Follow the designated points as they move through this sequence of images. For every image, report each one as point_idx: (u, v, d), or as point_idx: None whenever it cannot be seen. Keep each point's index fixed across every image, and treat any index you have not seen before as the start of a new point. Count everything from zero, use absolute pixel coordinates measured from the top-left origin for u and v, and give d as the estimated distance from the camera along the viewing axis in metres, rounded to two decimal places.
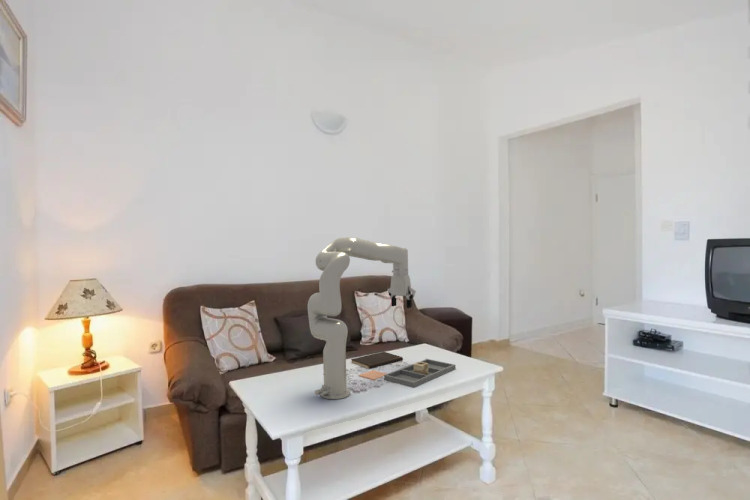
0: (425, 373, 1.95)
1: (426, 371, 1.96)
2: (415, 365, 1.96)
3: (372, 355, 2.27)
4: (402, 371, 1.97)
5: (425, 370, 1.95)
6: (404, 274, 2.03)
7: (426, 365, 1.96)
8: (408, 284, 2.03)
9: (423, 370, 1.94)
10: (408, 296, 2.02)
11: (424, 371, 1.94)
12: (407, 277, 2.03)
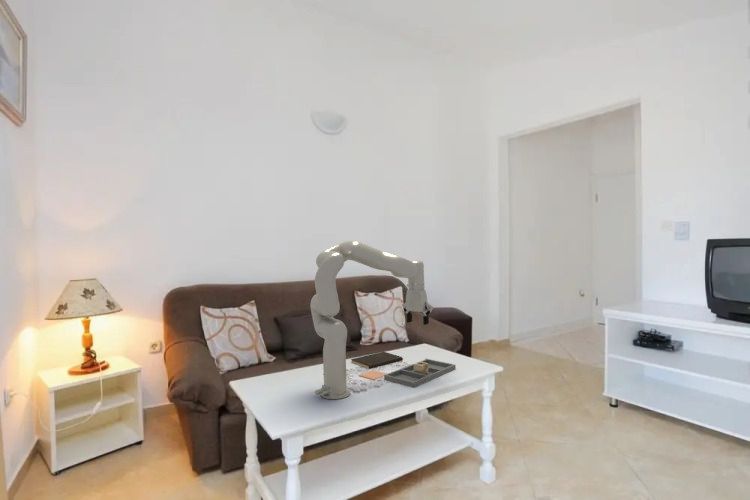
0: (425, 373, 1.95)
1: (426, 371, 1.96)
2: (415, 365, 1.96)
3: (372, 355, 2.27)
4: (402, 371, 1.97)
5: (425, 370, 1.95)
6: (420, 289, 1.91)
7: (426, 365, 1.96)
8: (425, 299, 1.91)
9: (423, 370, 1.94)
10: (425, 312, 1.90)
11: (424, 371, 1.94)
12: (423, 292, 1.91)
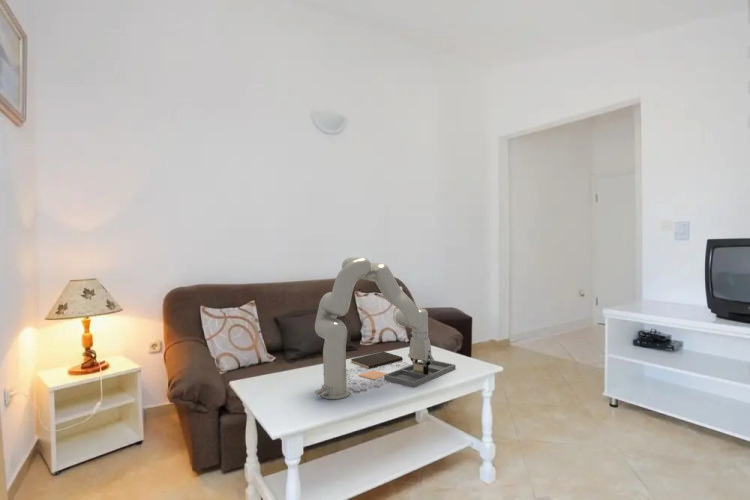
0: None
1: None
2: (415, 365, 1.96)
3: (372, 355, 2.27)
4: (402, 371, 1.97)
5: None
6: (424, 338, 1.93)
7: None
8: (428, 348, 1.93)
9: None
10: (426, 363, 1.93)
11: None
12: (427, 341, 1.93)
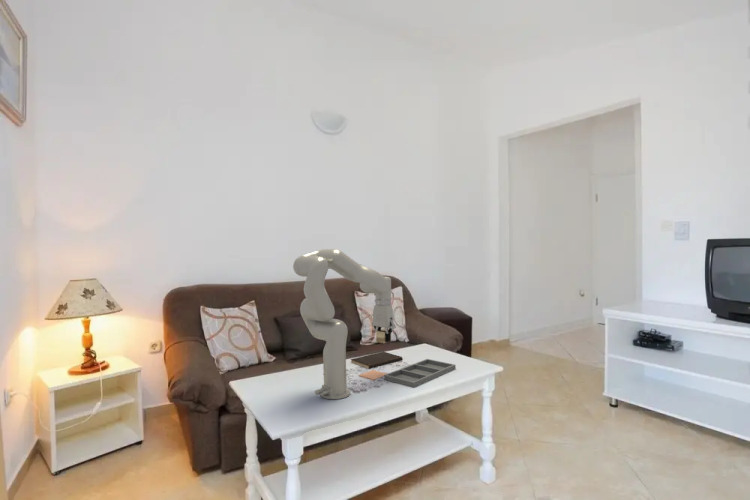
0: None
1: None
2: (378, 332, 1.96)
3: (372, 355, 2.27)
4: (402, 371, 1.97)
5: None
6: (386, 305, 1.93)
7: None
8: (390, 315, 1.93)
9: None
10: (387, 330, 1.93)
11: None
12: (389, 308, 1.93)
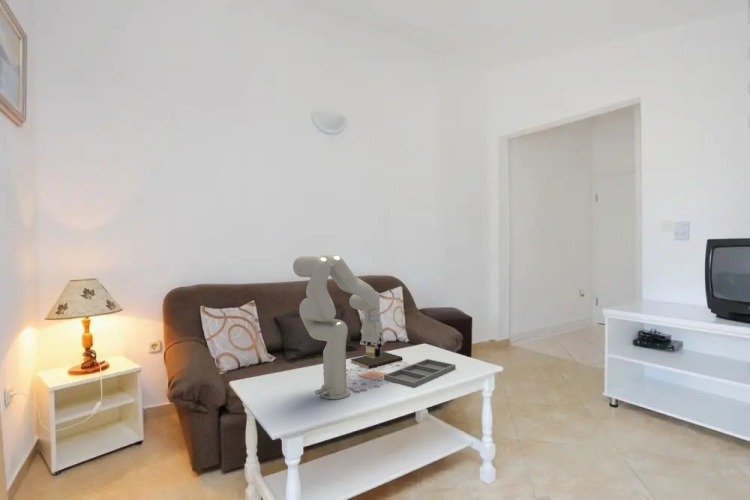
0: None
1: None
2: (367, 347, 1.96)
3: None
4: (402, 371, 1.97)
5: None
6: (375, 320, 1.94)
7: None
8: (380, 330, 1.93)
9: None
10: (377, 345, 1.94)
11: None
12: (379, 323, 1.94)
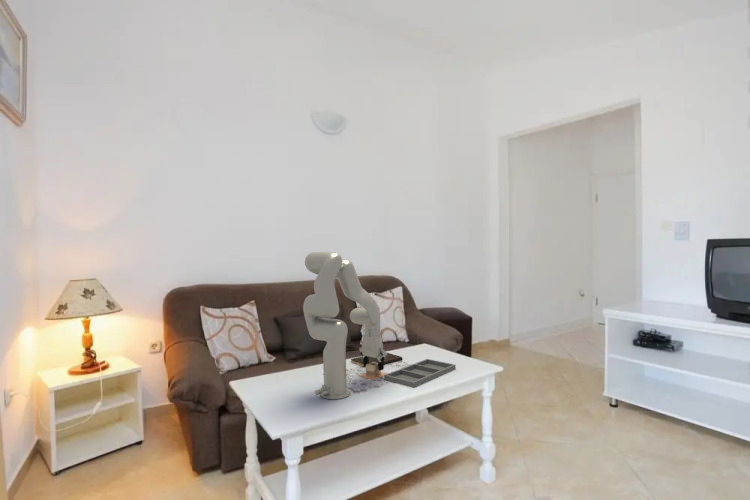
0: (377, 373, 1.95)
1: (378, 371, 1.96)
2: (367, 365, 1.96)
3: None
4: (402, 371, 1.97)
5: (377, 370, 1.96)
6: (376, 335, 1.94)
7: None
8: (380, 345, 1.93)
9: (375, 370, 1.94)
10: None
11: (376, 372, 1.95)
12: (379, 338, 1.94)
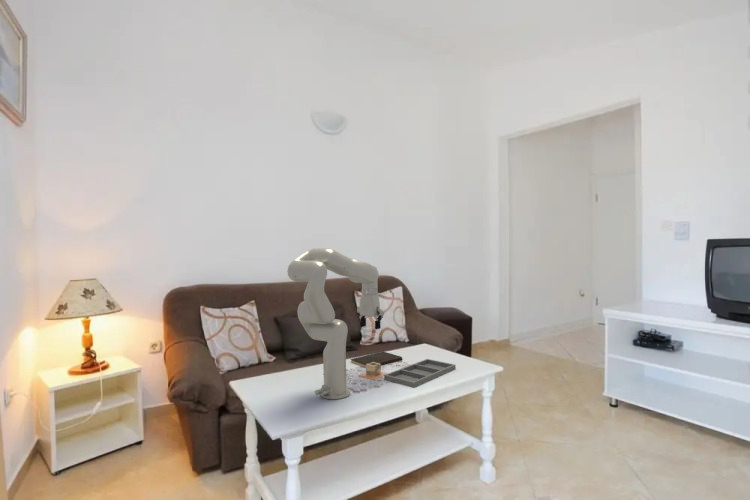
0: (377, 373, 1.95)
1: (378, 371, 1.96)
2: (367, 365, 1.96)
3: (371, 355, 2.27)
4: (402, 371, 1.97)
5: (377, 370, 1.96)
6: (373, 294, 1.95)
7: (378, 365, 1.96)
8: (377, 304, 1.95)
9: (375, 370, 1.94)
10: (376, 317, 1.94)
11: (376, 372, 1.95)
12: (376, 297, 1.95)
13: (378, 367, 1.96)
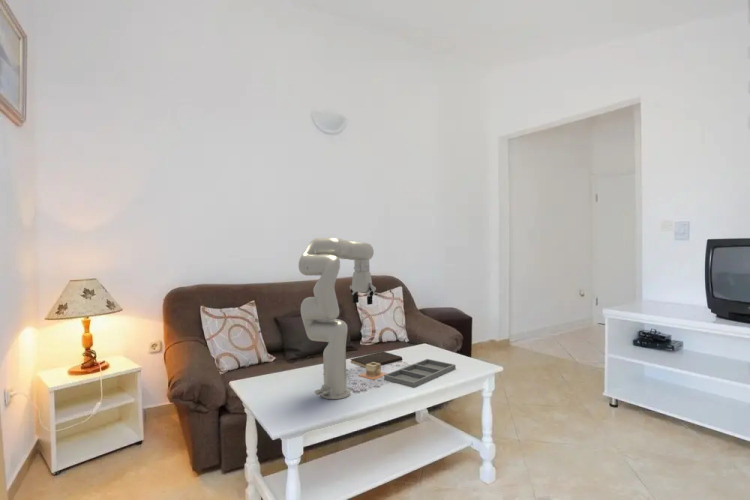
0: (377, 373, 1.95)
1: (378, 371, 1.96)
2: (367, 365, 1.96)
3: (371, 355, 2.27)
4: (402, 371, 1.97)
5: (377, 370, 1.96)
6: (365, 271, 2.03)
7: (378, 365, 1.96)
8: (369, 281, 2.03)
9: (375, 370, 1.94)
10: (368, 293, 2.02)
11: (376, 372, 1.95)
12: (368, 274, 2.03)
13: (378, 367, 1.96)
